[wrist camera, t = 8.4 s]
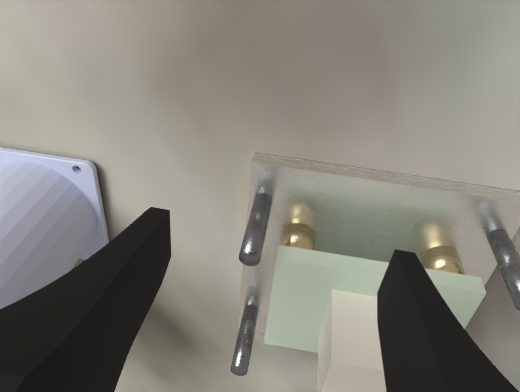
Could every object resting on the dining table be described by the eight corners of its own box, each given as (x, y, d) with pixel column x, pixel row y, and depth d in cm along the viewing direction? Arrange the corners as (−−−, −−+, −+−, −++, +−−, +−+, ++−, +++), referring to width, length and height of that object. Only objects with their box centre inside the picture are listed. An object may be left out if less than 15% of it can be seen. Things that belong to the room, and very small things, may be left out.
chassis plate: (240, 317, 31) (224, 388, 27) (254, 152, 23) (234, 217, 18) (435, 351, 30) (452, 431, 26) (526, 192, 22) (574, 270, 17)
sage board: (265, 329, 26) (252, 411, 22) (278, 244, 22) (265, 327, 18) (433, 358, 25) (452, 448, 21) (480, 277, 21) (514, 370, 17)
